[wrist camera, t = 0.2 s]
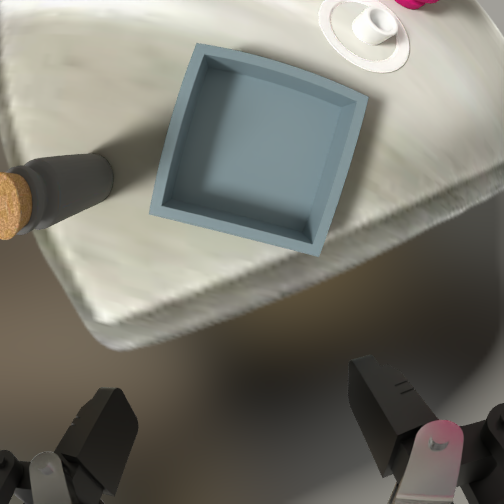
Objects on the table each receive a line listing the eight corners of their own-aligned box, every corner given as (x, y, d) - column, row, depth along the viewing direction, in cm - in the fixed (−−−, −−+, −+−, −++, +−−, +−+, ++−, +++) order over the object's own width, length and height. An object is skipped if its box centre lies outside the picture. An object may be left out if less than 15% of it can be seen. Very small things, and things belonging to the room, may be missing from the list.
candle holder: (296, 21, 22) (305, 4, 18) (353, -18, 19) (366, -33, 15) (373, 92, 25) (392, 86, 21) (420, 46, 23) (439, 38, 19)
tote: (202, 60, 23) (196, 43, 18) (348, 104, 25) (368, 97, 21) (162, 204, 28) (148, 214, 23) (306, 240, 30) (318, 256, 26)
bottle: (74, 151, 25) (-21, 163, 11) (117, 155, 26) (27, 165, 12) (69, 201, 27) (-19, 241, 13) (111, 207, 28) (27, 255, 14)
